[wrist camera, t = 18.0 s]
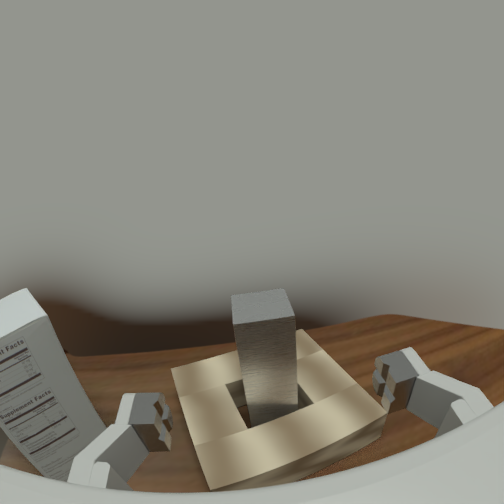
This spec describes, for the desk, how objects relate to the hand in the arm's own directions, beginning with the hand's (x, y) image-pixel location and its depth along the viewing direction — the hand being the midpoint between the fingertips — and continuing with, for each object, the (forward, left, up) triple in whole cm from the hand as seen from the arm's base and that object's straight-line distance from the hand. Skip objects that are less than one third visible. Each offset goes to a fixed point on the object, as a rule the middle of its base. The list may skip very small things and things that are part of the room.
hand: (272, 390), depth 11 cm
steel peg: (-4, -12, -18) cm, 22 cm away
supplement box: (+18, -15, -18) cm, 30 cm away
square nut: (-4, -12, -18) cm, 22 cm away
